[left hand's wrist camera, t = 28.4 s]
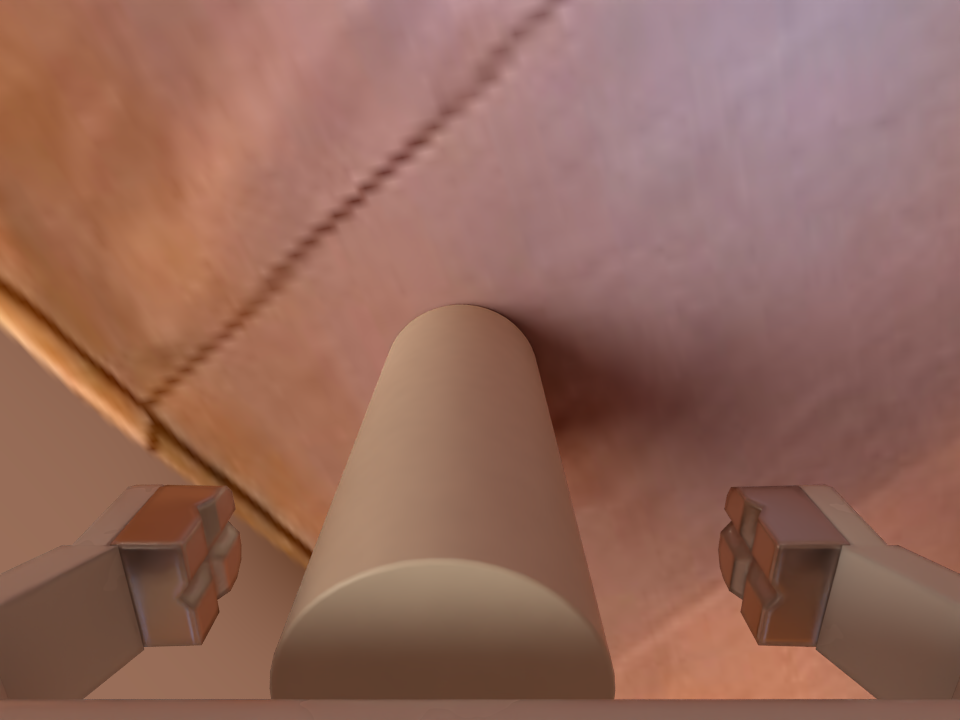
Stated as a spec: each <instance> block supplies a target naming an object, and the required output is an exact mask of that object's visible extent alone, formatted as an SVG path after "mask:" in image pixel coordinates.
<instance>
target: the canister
mask: <svg viewBox="0 0 960 720" xmlns="http://www.w3.org/2000/svg"><path fill="white" fill-rule="evenodd" d="M270 694H271V699H614V697H615V676H614V670H613V665H612V661H611V657H610V653H609V649H608V645H607V641H606V637H605V633H604V629H603V625H602V621H601V617H600V613H599V609H598V605H597V601H596V597H595V593H594V589H593V585H592V581H591V577H590V573H589V569H588V565H587V561H586V557H585V553H584V549H583V545H582V541H581V537H580V533H579V529H578V525H577V521H576V517H575V513H574V509H573V505H572V501H571V497H570V493H569V489H568V485H567V481H566V477H565V473H564V469H563V465H562V461H561V457H560V453H559V449H558V445H557V441H556V437H555V433H554V429H553V425H552V421H551V417H550V413H549V409H548V405H547V401H546V397H545V393H544V389H543V385H542V381H541V377H540V373H539V369H538V365H537V362H536V358H535V354H534V352H533V349H532V347H531V345H530V343H529V342H528V340H527V338H526V337H525V336H524V334H523V333H522V332H521V331H520V330H519V329H518V328H517V327H516V326H515V325H514V324H513V323H512V322H511V321H509V320H508V319H507V318H505V317H503V316H502V315H500V314H498V313H496V312H494V311H491V310H489V309H486V308H482V307H479V306H473V305H449V306H443V307H439V308H436V309H433V310H431V311H428V312H426V313H424V314H422V315H420V316H418V317H417V318H416V319H414V320H413V321H411V322H410V323H409V324H408V325H407V326H406V327H405V328H404V329H403V330H402V331H401V332H400V334H399V335H398V336H397V337H396V339H395V341H394V343H393V344H392V346H391V349H390V351H389V354H388V356H387V359H386V362H385V364H384V367H383V369H382V372H381V375H380V377H379V380H378V383H377V385H376V388H375V390H374V393H373V396H372V398H371V401H370V404H369V406H368V409H367V411H366V414H365V417H364V419H363V422H362V425H361V427H360V430H359V432H358V435H357V438H356V440H355V443H354V446H353V448H352V451H351V453H350V456H349V459H348V461H347V464H346V467H345V469H344V472H343V474H342V477H341V480H340V482H339V485H338V488H337V490H336V493H335V495H334V498H333V501H332V503H331V506H330V509H329V511H328V514H327V516H326V519H325V522H324V524H323V527H322V530H321V532H320V535H319V537H318V540H317V543H316V545H315V548H314V551H313V553H312V556H311V558H310V561H309V564H308V566H307V569H306V572H305V574H304V577H303V579H302V582H301V585H300V587H299V590H298V593H297V595H296V598H295V600H294V603H293V606H292V608H291V611H290V614H289V616H288V619H287V621H286V624H285V627H284V629H283V632H282V635H281V637H280V640H279V642H278V645H277V648H276V650H275V653H274V657H273V661H272V666H271V671H270Z"/></svg>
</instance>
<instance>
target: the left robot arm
mask: <svg viewBox="0 0 960 720" xmlns="http://www.w3.org/2000/svg"><path fill="white" fill-rule="evenodd" d="M234 511H235V504H234V499H233V494H232V491H231V490H230V489H229V488H228V487H227V486H197V485H134V486H130V487H128V488H127V489H126V490H125V491H124V492H123V493H122V494H121V495H120V496H119V497H118V498H117V499H116V500H115V501H114V502H113V503H112V504H111V505H110V506H109V507H108V509H107V510H106V511H105V512H104V513H103V514H102V515H101V516H100V517H99V518H98V519H97V520H96V521H95V522H94V523H93V524H92V525H91V526H90V527H89V528H88V529H87V530H86V531H85V532H84V533H83V534H82V535H81V537H80V538H79V539H78V540H77V541H76V542H75V543H74V544H73V545H71V546H59V547H57V548H55V549H53V550H51V551H49V552H47V553H44V554H42V555H40V556H38V557H36V558H34V559H31V560H29V561H27V562H25V563H23V564H21V565H19V566H16V567H14V568H12V569H10V570H8V571H6V572H3V573H1V574H0V720H960V574H959V573H956V572H954V571H952V570H950V569H948V568H946V567H944V566H941V565H939V564H937V563H935V562H933V561H931V560H928V559H926V558H924V557H922V556H920V555H918V554H916V553H913V552H911V551H909V550H907V549H905V548H903V547H901V546H890V545H887V544H886V543H885V542H884V541H883V540H882V538H881V537H880V536H879V535H878V534H877V533H876V532H875V531H874V530H873V529H872V528H871V527H870V526H869V525H868V524H867V523H866V522H865V521H864V520H863V519H862V518H861V517H860V516H859V515H858V514H857V513H856V511H855V510H854V509H853V508H852V507H851V506H850V505H849V504H848V503H847V502H846V501H845V500H844V499H843V498H842V497H841V496H840V495H839V494H838V493H837V492H836V491H835V490H834V489H833V488H832V487H830V486H827V485H825V484H817V485H793V486H758V487H731V488H730V490H729V492H728V495H727V498H726V503H725V511H726V512H727V514H728V516H729V517H730V519H731V522H730V523H729V524H728V525H727V526H726V527H725V528H724V529H723V530H722V531H721V533H720V540H719V548H718V552H719V563H720V569H721V572H722V576H723V579H724V581H725V583H726V585H727V587H728V589H729V591H730V592H732V593H733V594H735V595H736V596H738V597H739V598H741V599H742V600H743V601H742V607H741V614H742V616H743V617H744V619H745V621H746V623H747V625H748V627H749V629H750V630H751V632H752V634H753V636H754V638H755V640H756V642H757V643H758V645H768V646H804V647H816V650H817V651H818V652H820V653H821V654H822V655H823V656H825V657H826V658H827V659H828V660H829V661H831V662H832V663H833V664H834V665H836V666H837V667H838V668H839V669H841V670H842V671H843V672H844V673H846V674H847V675H848V676H849V677H851V678H852V679H853V680H854V681H856V682H857V683H858V684H859V685H860V686H862V687H863V688H864V689H865V690H867V691H868V692H869V693H870V694H872V695H873V696H874V697H875V698H877V699H83V698H85V697H86V696H87V695H89V694H90V693H91V692H92V691H93V690H95V689H96V688H97V687H98V686H100V685H101V684H102V683H103V682H105V681H106V680H107V679H108V678H110V677H111V676H112V675H113V674H115V673H116V672H117V671H118V670H120V669H121V668H122V667H123V666H125V665H126V664H127V663H128V662H130V661H131V660H132V659H133V658H134V657H136V656H137V655H138V654H139V653H141V652H142V651H143V650H144V647H156V646H190V645H202V644H203V642H204V640H205V638H206V636H207V634H208V632H209V630H210V629H211V627H212V625H213V623H214V621H215V619H216V617H217V616H218V614H219V607H218V601H217V600H218V599H219V598H221V597H222V596H224V595H225V594H227V593H228V592H230V591H231V589H232V587H233V585H234V583H235V581H236V579H237V576H238V572H239V567H240V563H241V539H240V533H239V531H238V530H237V529H236V528H235V527H234V526H233V525H232V524H231V523H230V522H229V519H230V517H231V516H232V514H233V512H234Z"/></svg>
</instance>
